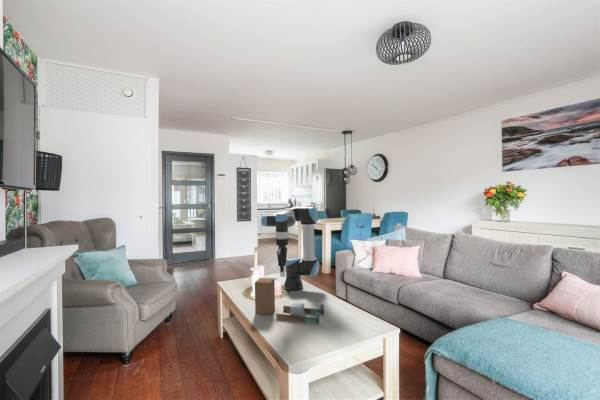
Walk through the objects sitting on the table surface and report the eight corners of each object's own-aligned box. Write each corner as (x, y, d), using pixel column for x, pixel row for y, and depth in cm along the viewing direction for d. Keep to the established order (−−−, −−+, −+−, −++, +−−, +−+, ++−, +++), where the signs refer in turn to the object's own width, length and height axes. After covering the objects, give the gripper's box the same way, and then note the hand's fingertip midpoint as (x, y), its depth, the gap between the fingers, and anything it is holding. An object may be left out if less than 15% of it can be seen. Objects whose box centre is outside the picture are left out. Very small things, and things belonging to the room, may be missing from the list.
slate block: (293, 313, 177) (293, 302, 176) (304, 314, 175) (304, 303, 174) (290, 318, 170) (289, 306, 170) (301, 319, 168) (301, 307, 168)
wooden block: (270, 315, 175) (269, 282, 174) (255, 314, 177) (254, 282, 176) (275, 308, 184) (274, 278, 184) (260, 307, 186) (259, 277, 186)
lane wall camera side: (277, 318, 170) (276, 308, 170) (319, 322, 163) (319, 312, 163) (276, 319, 169) (276, 309, 169) (318, 324, 161) (318, 313, 161)
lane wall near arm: (284, 310, 182) (284, 300, 182) (323, 314, 175) (323, 304, 174) (283, 310, 181) (283, 301, 181) (323, 315, 173) (323, 305, 173)
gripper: (280, 236, 181) (280, 273, 182) (272, 239, 169) (272, 279, 169) (291, 236, 179) (291, 274, 180) (284, 240, 167) (284, 279, 167)
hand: (282, 276), depth 174 cm, fingers closed
